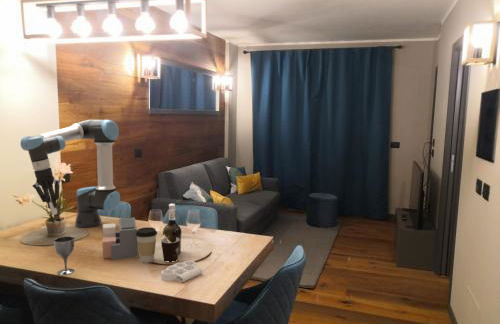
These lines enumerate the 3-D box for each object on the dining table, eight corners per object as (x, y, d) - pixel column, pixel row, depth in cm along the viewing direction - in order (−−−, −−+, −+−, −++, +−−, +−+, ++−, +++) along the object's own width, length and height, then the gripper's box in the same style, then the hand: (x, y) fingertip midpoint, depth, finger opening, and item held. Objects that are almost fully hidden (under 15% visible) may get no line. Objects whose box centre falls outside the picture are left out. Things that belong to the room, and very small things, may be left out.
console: (111, 244, 213) (110, 218, 211) (135, 242, 216) (134, 216, 215) (111, 259, 192) (110, 230, 190) (137, 257, 196) (136, 228, 194)
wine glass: (53, 271, 177) (51, 239, 175) (71, 266, 183) (69, 235, 181) (60, 277, 172) (58, 243, 170) (78, 271, 178) (77, 239, 176)
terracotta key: (103, 253, 200) (102, 237, 199) (116, 251, 202) (115, 236, 201) (103, 258, 193) (102, 242, 192) (116, 256, 195) (115, 240, 194)
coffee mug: (169, 265, 186) (169, 244, 185) (157, 260, 191) (157, 240, 190) (188, 257, 195) (187, 238, 194) (176, 253, 200) (175, 234, 199)
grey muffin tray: (177, 287, 165) (154, 277, 173) (207, 273, 179) (184, 265, 188) (177, 279, 164) (154, 270, 173) (207, 265, 178) (184, 258, 187)
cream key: (103, 246, 209) (103, 224, 207) (116, 245, 211) (115, 223, 209) (103, 251, 202) (102, 228, 201) (116, 250, 204) (115, 227, 203)
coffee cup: (150, 255, 198) (150, 225, 196) (161, 260, 191) (161, 230, 189) (132, 260, 191) (131, 229, 189) (143, 266, 185) (142, 234, 183)
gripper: (25, 172, 192) (38, 218, 197) (52, 168, 192) (64, 214, 197) (32, 169, 199) (45, 213, 205) (58, 164, 200) (70, 209, 205)
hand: (54, 213), depth 201 cm, fingers closed
